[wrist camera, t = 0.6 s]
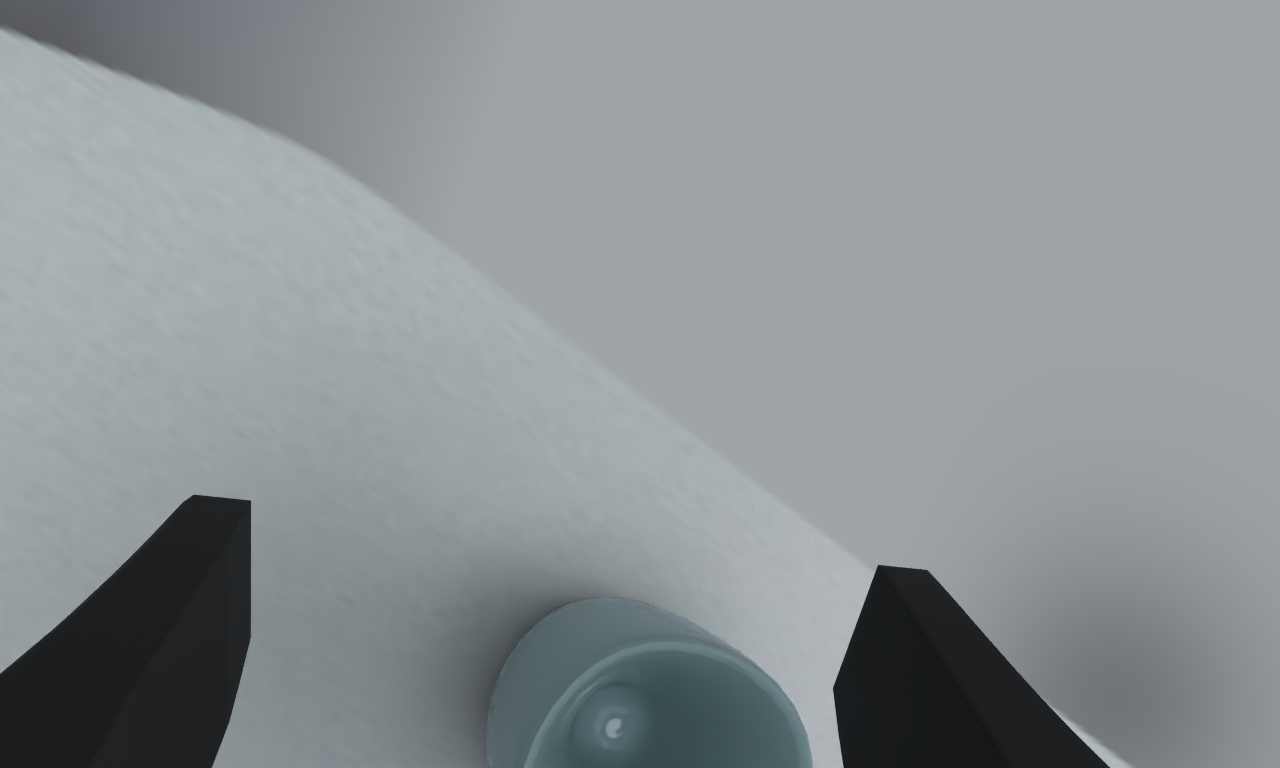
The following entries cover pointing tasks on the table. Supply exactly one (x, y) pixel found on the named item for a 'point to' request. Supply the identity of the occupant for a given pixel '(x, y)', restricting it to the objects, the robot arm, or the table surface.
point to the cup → (637, 696)
